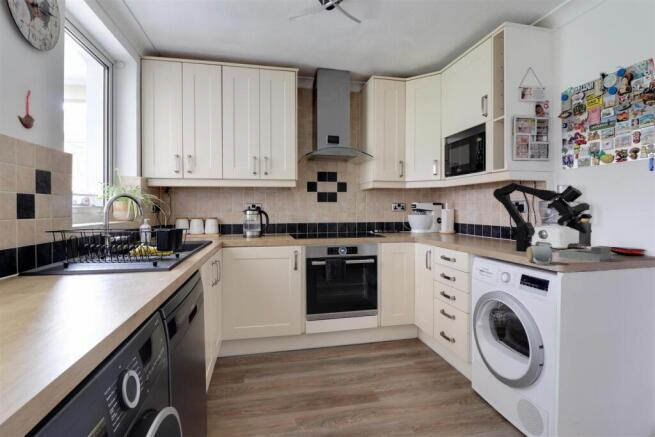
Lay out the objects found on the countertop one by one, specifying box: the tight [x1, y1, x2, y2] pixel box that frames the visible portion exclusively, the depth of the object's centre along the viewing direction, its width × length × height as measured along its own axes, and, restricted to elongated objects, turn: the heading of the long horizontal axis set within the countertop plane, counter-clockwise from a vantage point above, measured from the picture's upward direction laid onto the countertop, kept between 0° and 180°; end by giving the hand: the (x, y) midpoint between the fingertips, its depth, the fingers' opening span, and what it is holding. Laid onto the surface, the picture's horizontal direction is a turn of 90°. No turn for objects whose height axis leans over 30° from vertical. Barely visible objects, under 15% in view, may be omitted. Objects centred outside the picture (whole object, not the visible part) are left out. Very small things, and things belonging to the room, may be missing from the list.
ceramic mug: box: [526, 245, 553, 266], centre depth 135 cm, size 11×8×8 cm
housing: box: [558, 245, 612, 262], centre depth 149 cm, size 16×12×6 cm
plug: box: [577, 219, 592, 248], centre depth 149 cm, size 5×5×13 cm
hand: (588, 232), depth 148 cm, fingers closed on plug, 4 cm apart
